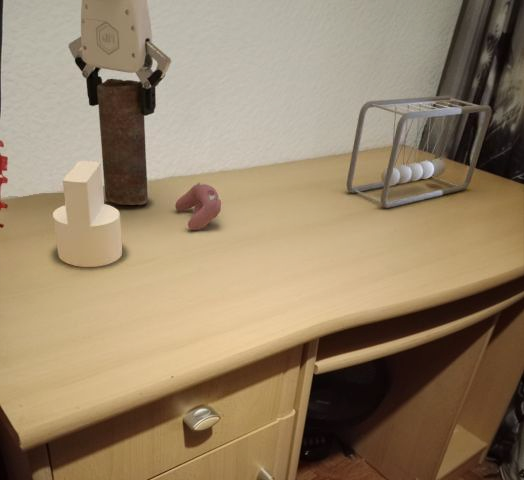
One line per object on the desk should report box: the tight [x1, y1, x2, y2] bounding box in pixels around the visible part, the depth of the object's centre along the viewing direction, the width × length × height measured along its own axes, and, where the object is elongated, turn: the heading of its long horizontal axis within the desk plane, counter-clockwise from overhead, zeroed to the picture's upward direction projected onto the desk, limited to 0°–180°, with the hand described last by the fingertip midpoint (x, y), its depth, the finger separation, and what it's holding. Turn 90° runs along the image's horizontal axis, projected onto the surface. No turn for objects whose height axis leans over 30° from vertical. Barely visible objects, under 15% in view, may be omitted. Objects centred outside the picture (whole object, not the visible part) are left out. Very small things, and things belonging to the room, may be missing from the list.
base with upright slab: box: [52, 160, 123, 268], centre depth 76 cm, size 9×9×12 cm
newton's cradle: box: [346, 95, 492, 209], centre depth 112 cm, size 30×10×18 cm, turn 129°
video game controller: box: [174, 182, 222, 231], centre depth 92 cm, size 10×5×7 cm, turn 22°
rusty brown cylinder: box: [97, 78, 149, 206], centre depth 91 cm, size 8×7×20 cm
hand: (121, 109), depth 88 cm, fingers open, 9 cm apart
